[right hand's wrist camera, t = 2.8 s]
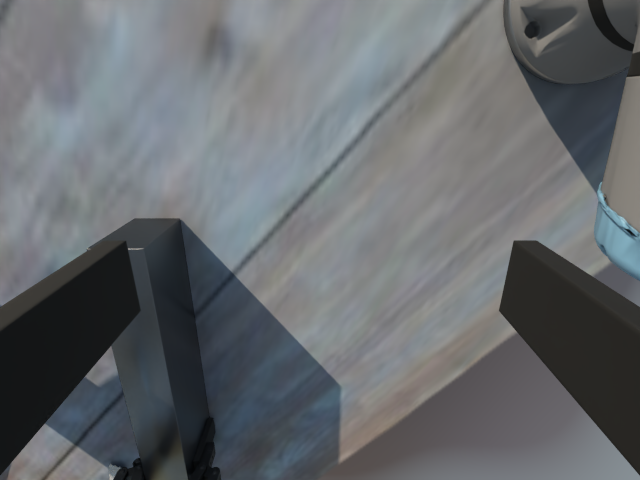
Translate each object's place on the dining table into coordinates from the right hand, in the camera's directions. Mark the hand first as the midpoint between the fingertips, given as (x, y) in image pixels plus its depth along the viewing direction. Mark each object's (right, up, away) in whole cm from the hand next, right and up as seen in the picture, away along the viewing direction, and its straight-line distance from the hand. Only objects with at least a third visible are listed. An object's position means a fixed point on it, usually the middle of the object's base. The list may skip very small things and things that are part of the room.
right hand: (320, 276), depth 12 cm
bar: (-19, -13, +35) cm, 42 cm away
